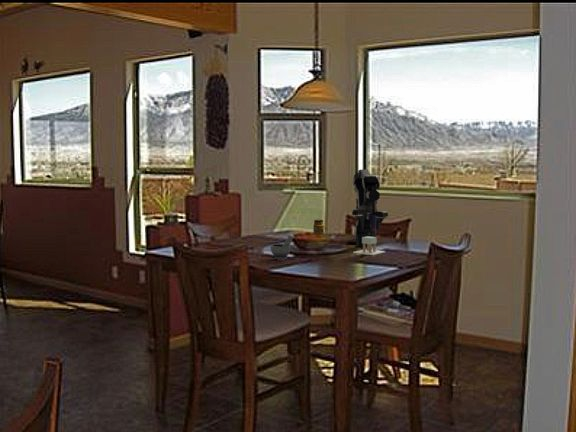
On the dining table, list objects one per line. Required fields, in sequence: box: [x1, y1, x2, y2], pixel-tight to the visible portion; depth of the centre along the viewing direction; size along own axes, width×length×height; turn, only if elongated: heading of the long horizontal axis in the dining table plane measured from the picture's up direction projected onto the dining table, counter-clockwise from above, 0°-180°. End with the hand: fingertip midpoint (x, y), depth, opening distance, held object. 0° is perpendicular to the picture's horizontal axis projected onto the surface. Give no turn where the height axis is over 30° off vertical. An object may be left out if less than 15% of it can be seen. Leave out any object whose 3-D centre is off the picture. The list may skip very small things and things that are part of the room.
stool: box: [362, 236, 378, 253], centre depth 360 cm, size 6×6×8 cm
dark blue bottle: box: [355, 197, 378, 237], centre depth 406 cm, size 14×12×30 cm
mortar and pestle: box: [270, 234, 294, 261], centre depth 340 cm, size 11×9×12 cm
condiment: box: [312, 219, 325, 234], centre depth 404 cm, size 7×8×12 cm
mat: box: [353, 248, 386, 256], centre depth 360 cm, size 12×12×1 cm
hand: (369, 229), depth 359 cm, fingers open, 9 cm apart
